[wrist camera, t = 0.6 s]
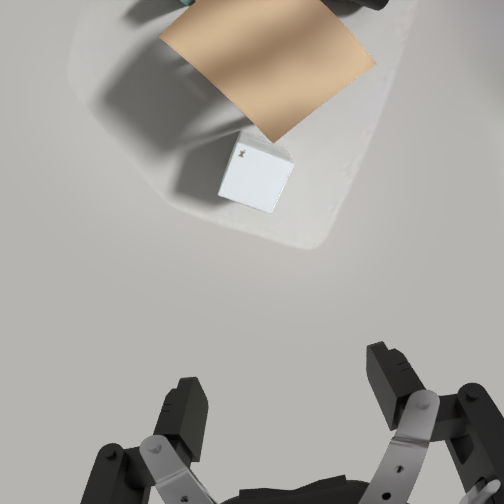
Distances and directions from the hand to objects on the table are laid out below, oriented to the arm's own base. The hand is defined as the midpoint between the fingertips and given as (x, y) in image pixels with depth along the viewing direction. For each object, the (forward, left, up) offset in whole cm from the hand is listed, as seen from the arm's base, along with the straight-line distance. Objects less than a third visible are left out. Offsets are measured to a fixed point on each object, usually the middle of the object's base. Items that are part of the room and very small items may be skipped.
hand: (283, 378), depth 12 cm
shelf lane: (-11, +10, -27) cm, 31 cm away
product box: (-3, 0, -27) cm, 27 cm away
